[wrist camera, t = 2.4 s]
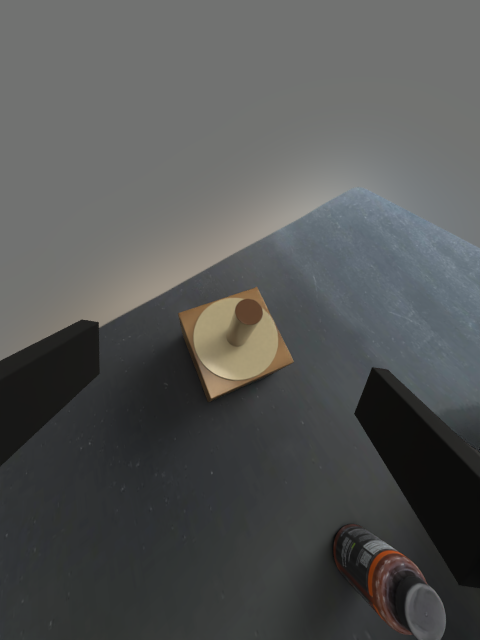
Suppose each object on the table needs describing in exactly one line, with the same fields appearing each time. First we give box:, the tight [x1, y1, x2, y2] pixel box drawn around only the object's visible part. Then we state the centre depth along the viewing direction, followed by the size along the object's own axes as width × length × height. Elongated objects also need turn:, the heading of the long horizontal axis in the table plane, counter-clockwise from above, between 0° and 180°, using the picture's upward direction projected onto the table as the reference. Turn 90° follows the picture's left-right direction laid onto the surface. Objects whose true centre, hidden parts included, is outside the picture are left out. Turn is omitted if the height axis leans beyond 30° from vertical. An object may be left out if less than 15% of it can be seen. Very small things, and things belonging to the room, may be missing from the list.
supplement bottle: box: [333, 524, 446, 640], centre depth 27 cm, size 6×6×11 cm
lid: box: [193, 298, 278, 381], centre depth 26 cm, size 10×10×8 cm
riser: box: [178, 287, 294, 402], centre depth 35 cm, size 11×11×9 cm
